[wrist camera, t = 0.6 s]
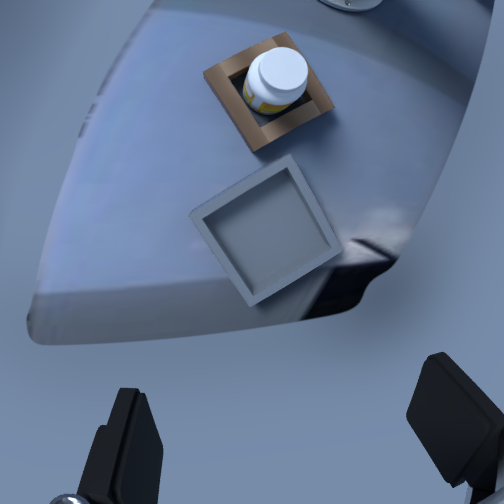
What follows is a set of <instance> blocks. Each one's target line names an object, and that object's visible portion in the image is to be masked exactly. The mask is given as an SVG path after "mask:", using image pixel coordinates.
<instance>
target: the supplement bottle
mask: <svg viewBox="0 0 504 504" xmlns="http://www.w3.org/2000/svg"><path fill="white" fill-rule="evenodd" d="M307 76H308V66H307V63H306V61H305V59H304V58H303V56H302V55H301V54H299V53H298V52H297V51H295V50H293V49H290V48H286V47H278V48H274V49H271V50H270V51H267V52H265V53H262V54H261V55H259V56H258V57H256V58H255V59H254V61H253V62H252V64H251V65H250V67H249V70H248V73H247V76H246V79H245V82H244V86H243V96H244V99H245V101H246V103H247V105H248V106H249V107H250V108H251V109H253V110H254V111H256V112H258V113H261V114H265V115H272V114H277V113H279V112H281V111H283V110H284V109H286V108H287V107H288V106H289V105H291V104H292V103H293V102H294V101H296V100H297V99H298V98H299V97H300V96H301V95H302V94H303V92H304V91H305V88H306V85H307Z"/></svg>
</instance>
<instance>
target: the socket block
mask: <svg viewBox="0 0 504 504" xmlns="http://www.w3.org/2000/svg"><path fill="white" fill-rule="evenodd" d="M278 47H286V48H290V49H293V50H295V51H297V52H298V53H299V54H301V52H300V51H299V49H298V48H297V46H296V45H295V44H294V42H293V41H292V39H291V38H290V36H289V35H288V34H287V32H284V33H281V34H279V35H277V36H274V37H272V38H270V39H267V40H265V41H263V42H261V43H258V44H256V45H254V46H252V47H250V48H248V49H246V50H244V51H242V52H240V53H238V54H236V55H234V56H232V57H230V58H228V59H226V60H224V61H222V62H220V63H218V64H216V65H214V66H213V67H211V68H209V69H207V70H205V71H204V72H203V75H204V79H205V80H206V82H207V83H208V85H209V86H210V88H211V89H212V91H213V92H214V94H215V95H216V97H217V98H218V100H219V101H220V103H221V105H222V106H223V108H224V109H225V111H226V112H227V114H228V115H229V117H230V119H231V120H232V122H233V123H234V125H235V126H236V128H237V130H238V131H239V133H240V134H241V136H242V138H243V139H244V141H245V142H246V144H247V146H248V147H249V149H250V151H251V152H254V151H256V150H258V149H259V148H261V147H263V146H265V145H266V144H268V143H270V142H272V141H273V140H275V139H277V138H279V137H280V136H282V135H284V134H286V133H288V132H289V131H291V130H293V129H295V128H297V127H299V126H300V125H302V124H304V123H306V122H308V121H310V120H312V119H314V118H315V117H317V116H319V115H321V114H323V113H325V112H327V111H329V110H331V109H333V108H335V107H334V105H333V103H332V102H331V100H330V98H329V96H328V95H327V93H326V91H325V90H324V88H323V87H322V85H321V83H320V82H319V80H318V78H317V77H316V75H315V74H314V72H313V71H312V69H311V67H310V66H309V64H308V63H307V61H306V60H305V61H306V63H307V66H308V76H307V85H306V88H305V91H304V92H303V94H302V95H301V96H302V98H303V99H304V101H305V102H306V103H305V104H303V105H301V106H300V107H298V108H296V109H294V110H292V111H290V112H288V113H286V114H284V115H282V116H281V117H279V118H277V119H275V120H273V121H271V122H270V123H268V124H266V125H264V126H262V127H261V128H260V127H259V125H258V123H257V122H256V120H255V119H254V117H253V115H252V114H251V112H250V111H249V109H248V107H247V106H246V104H245V103H244V101H243V100H242V98H241V97H240V95H239V94H238V92H237V90H236V89H235V87H234V86H233V84H232V83H231V80H233V79H234V78H236V77H238V76H240V75H242V74H244V73H246V72H248V70H249V67H250V65H251V64H252V62H253V61H254V59H255V58H256V57H258V56H259V55H261V54H262V53H265V52H267V51H270V50H271V49H274V48H278ZM301 55H302V54H301ZM302 56H303V55H302ZM303 58H304V57H303ZM304 59H305V58H304Z"/></svg>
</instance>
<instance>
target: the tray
mask: <svg viewBox="0 0 504 504" xmlns="http://www.w3.org/2000/svg"><path fill="white" fill-rule="evenodd" d="M189 218H190V219H191V221H192V223H193V224H194V226H195V227H196V229H197V230H198V232H199V233H200V235H201V236H202V238H203V239H204V241H205V242H206V244H207V245H208V247H209V248H210V250H211V251H212V253H213V254H214V255H215V257H216V258H217V260H218V261H219V263H220V264H221V266H222V267H223V269H224V270H225V272H226V273H227V275H228V276H229V278H230V279H231V281H232V282H233V283H234V285H235V286H236V288H237V289H238V291H239V292H240V294H241V295H242V296H243V298H244V299H245V301H246V302H247V304H248V305H249V307H251V306H253V305H255V304H257V303H258V302H260V301H262V300H263V299H265V298H267V297H268V296H270V295H272V294H274V293H275V292H277V291H279V290H280V289H282V288H284V287H285V286H287V285H289V284H290V283H292V282H293V281H295V280H297V279H298V278H300V277H302V276H303V275H305V274H307V273H308V272H310V271H311V270H313V269H315V268H316V267H318V266H319V265H321V264H323V263H324V262H326V261H328V260H329V259H331V258H332V257H334V256H335V255H337V254H339V253H340V252H342V251H343V250H342V248H341V246H340V244H339V242H338V240H337V238H336V236H335V234H334V232H333V230H332V228H331V226H330V224H329V222H328V221H327V219H326V217H325V215H324V213H323V211H322V209H321V207H320V205H319V204H318V202H317V200H316V198H315V196H314V194H313V193H312V191H311V189H310V187H309V185H308V184H307V182H306V180H305V178H304V176H303V175H302V173H301V171H300V169H299V168H298V166H297V164H296V162H295V161H294V159H293V157H292V155H291V154H284V155H282V156H281V157H279V158H277V159H275V160H274V161H272V162H270V163H269V164H267V165H265V166H264V167H262V168H260V169H258V170H257V171H255V172H253V173H252V174H250V175H248V176H247V177H245V178H243V179H242V180H240V181H239V182H237V183H235V184H234V185H232V186H230V187H229V188H227V189H226V190H224V191H222V192H221V193H219V194H218V195H216V196H214V197H213V198H211V199H210V200H208V201H206V202H205V203H203V204H202V205H200V206H199V207H197V208H196V209H194V210H192V211H191V212H190V214H189Z"/></svg>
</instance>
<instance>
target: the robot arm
mask: <svg viewBox="0 0 504 504" xmlns="http://www.w3.org/2000/svg"><path fill="white" fill-rule="evenodd" d="M320 1H322V2H324V3H325V4H327V5H330V6H332V7H334V8H338V9H341V10H345V11H352V12H362V11H368V10H370V9H373V8H375V7H376V6H377V5H379V4H380V3H381V2H382V1H383V0H320ZM406 417H407V421H408V422H409V424H410V426H411V427H412V429H413V430H414V432H415V433H416V435H417V437H418V438H419V440H420V441H421V443H422V444H423V446H424V448H425V449H426V451H427V452H428V454H429V456H430V457H431V459H432V461H433V462H434V464H435V465H436V467H437V468H438V470H439V472H440V474H441V475H442V477H443V478H444V480H445V481H446V482H447V483H450V484H451V486H452V488H454V487H456V486H458V485H460V484H462V483H464V482H465V480H466V481H467V483H468V488H467V493H466V498H465V503H464V504H504V414H503V413H502V412H501V410H500V409H499V408H498V407H497V406H496V405H495V404H494V403H493V402H492V401H491V400H490V399H489V397H487V396H486V394H485V393H484V392H483V391H482V390H481V389H480V388H479V387H478V386H477V385H476V384H475V383H474V382H473V381H472V379H471V378H470V377H469V376H468V375H467V374H466V373H465V372H464V371H463V370H462V369H461V368H460V367H459V366H458V365H457V364H456V363H455V362H454V361H453V360H452V359H451V358H450V357H449V356H448V355H447V354H446V353H444V352H440V353H436V354H433V355H430V356H428V357H427V360H426V361H425V362H424V364H423V367H422V370H421V373H420V376H419V379H418V382H417V385H416V388H415V391H414V394H413V397H412V400H411V402H410V405H409V407H408V410H407V413H406ZM162 460H163V445H162V442H161V439H160V436H159V434H158V431H157V428H156V425H155V422H154V419H153V416H152V413H151V410H150V407H149V404H148V401H147V398H146V395H145V393H140V391H139V389H137V388H120V389H119V391H118V394H117V397H116V400H115V402H114V405H113V408H112V411H111V414H110V417H109V420H108V423H107V425H101V426H100V427H99V428H98V430H97V432H96V435H95V438H94V441H93V444H92V446H91V449H90V452H89V455H88V459H87V462H86V465H85V468H84V471H83V474H82V477H81V481H80V484H79V487H78V491H77V494H62V495H59V496H57V497H55V498H54V499H53V500H52V501H51V502H50V503H49V504H157V503H158V494H159V485H160V476H161V468H162Z"/></svg>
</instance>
